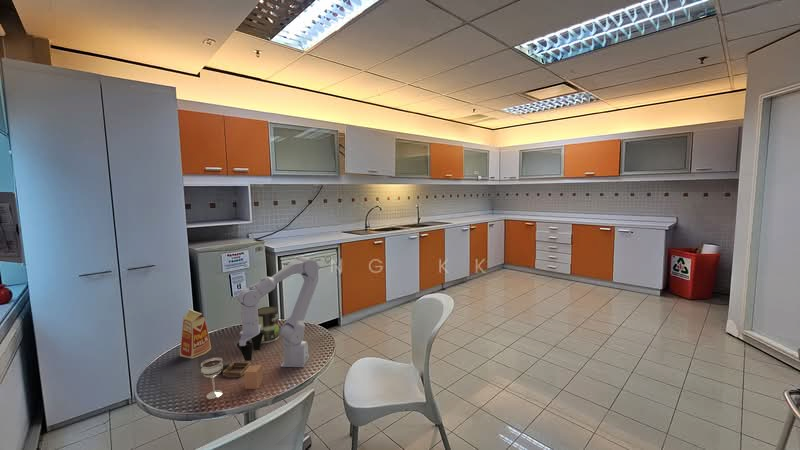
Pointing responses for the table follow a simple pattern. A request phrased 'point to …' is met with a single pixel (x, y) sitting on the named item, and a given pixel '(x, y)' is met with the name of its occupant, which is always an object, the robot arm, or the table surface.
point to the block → (253, 376)
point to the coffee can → (269, 323)
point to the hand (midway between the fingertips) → (252, 355)
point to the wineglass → (212, 373)
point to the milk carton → (194, 335)
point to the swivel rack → (228, 367)
